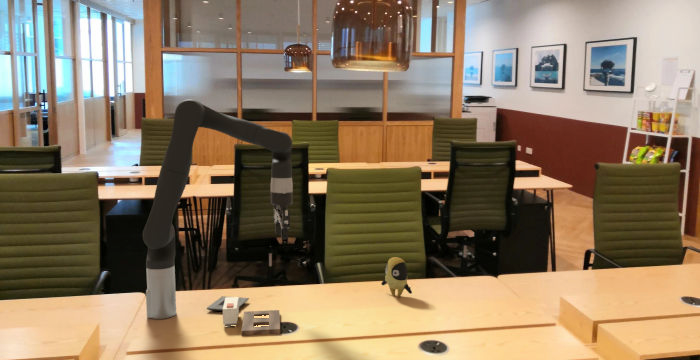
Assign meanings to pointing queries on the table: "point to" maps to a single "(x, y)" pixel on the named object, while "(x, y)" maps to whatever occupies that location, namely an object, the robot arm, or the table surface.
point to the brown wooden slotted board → (261, 323)
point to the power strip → (230, 311)
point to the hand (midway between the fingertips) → (281, 236)
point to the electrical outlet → (220, 303)
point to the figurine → (396, 276)
